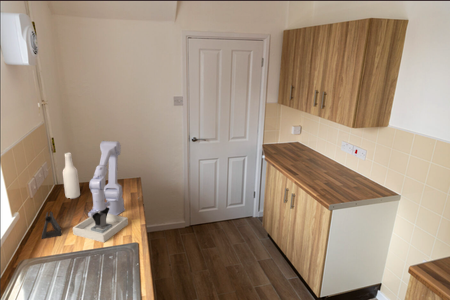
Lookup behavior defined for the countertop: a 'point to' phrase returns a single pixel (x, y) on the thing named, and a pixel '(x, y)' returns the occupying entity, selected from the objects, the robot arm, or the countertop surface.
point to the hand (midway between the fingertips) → (101, 222)
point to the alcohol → (70, 178)
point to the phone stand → (55, 225)
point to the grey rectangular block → (102, 221)
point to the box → (98, 234)
